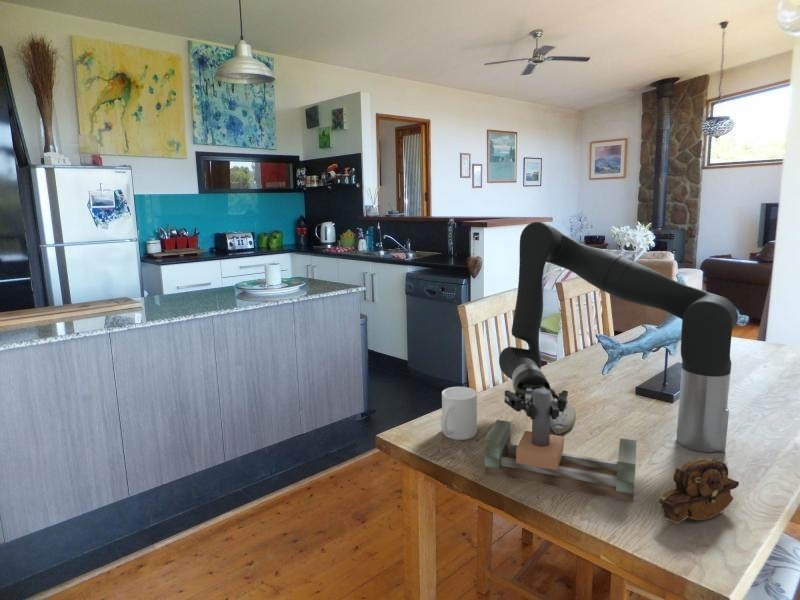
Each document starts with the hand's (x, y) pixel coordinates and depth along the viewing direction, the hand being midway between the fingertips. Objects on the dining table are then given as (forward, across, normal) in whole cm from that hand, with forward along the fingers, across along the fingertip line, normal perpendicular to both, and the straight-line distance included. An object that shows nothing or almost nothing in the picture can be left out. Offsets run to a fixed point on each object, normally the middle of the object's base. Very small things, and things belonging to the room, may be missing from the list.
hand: (544, 414), depth 103 cm
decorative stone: (-26, +9, +14) cm, 31 cm away
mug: (-19, -17, +14) cm, 29 cm away
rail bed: (-2, +4, +14) cm, 14 cm away
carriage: (-3, 0, +10) cm, 11 cm away
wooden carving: (+12, +25, +14) cm, 31 cm away
